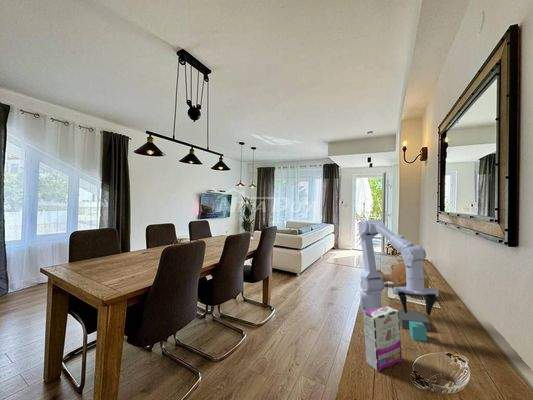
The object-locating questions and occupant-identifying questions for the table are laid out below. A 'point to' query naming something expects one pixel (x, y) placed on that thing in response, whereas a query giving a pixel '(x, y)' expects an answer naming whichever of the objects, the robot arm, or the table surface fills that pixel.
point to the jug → (402, 276)
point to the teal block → (417, 331)
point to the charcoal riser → (412, 319)
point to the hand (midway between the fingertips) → (416, 313)
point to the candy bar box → (382, 337)
